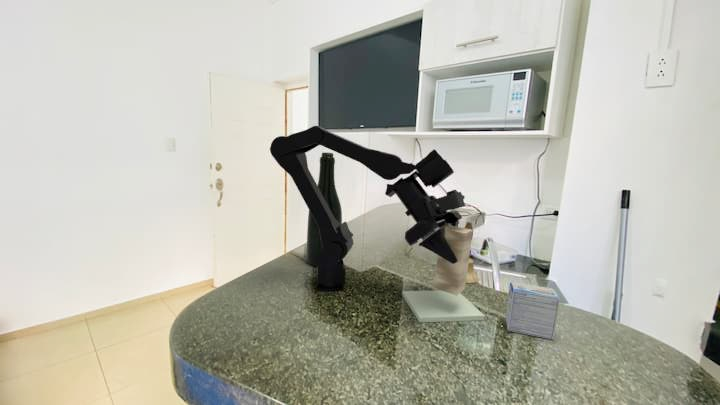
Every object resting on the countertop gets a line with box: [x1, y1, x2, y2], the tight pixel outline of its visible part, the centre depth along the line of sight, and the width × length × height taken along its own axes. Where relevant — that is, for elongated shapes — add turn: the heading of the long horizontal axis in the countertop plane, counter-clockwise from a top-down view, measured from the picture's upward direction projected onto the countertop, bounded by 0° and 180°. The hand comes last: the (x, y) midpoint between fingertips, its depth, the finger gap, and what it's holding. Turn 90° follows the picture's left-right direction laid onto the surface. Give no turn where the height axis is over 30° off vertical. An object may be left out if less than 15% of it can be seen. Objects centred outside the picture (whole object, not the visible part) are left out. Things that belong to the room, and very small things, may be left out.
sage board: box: [401, 289, 485, 323], centre depth 66 cm, size 14×12×1 cm
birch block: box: [433, 225, 474, 295], centre depth 63 cm, size 5×5×13 cm
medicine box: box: [505, 281, 561, 341], centre depth 58 cm, size 8×4×9 cm, turn 71°
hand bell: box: [464, 221, 480, 284], centre depth 83 cm, size 8×8×16 cm
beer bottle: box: [305, 152, 343, 267], centre depth 88 cm, size 10×10×33 cm
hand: (459, 259), depth 62 cm, fingers closed on birch block, 5 cm apart
